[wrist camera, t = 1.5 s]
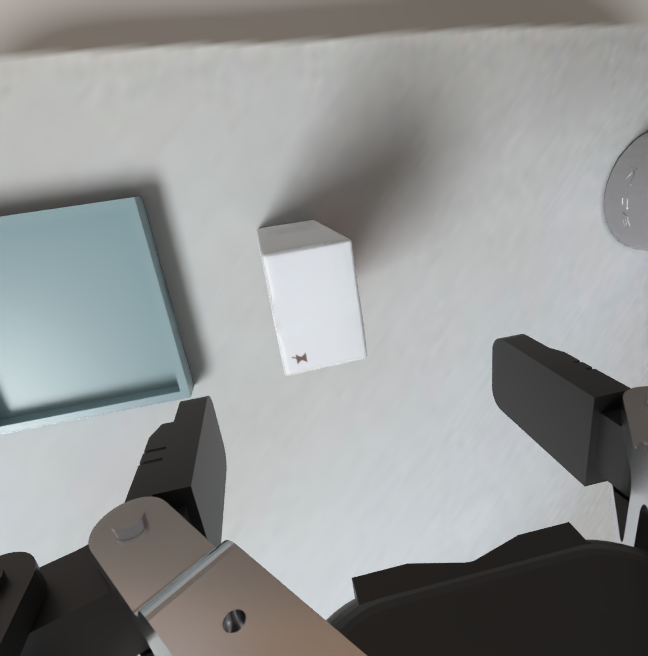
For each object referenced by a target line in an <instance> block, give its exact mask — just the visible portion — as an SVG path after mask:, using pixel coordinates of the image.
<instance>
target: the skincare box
mask: <svg viewBox="0 0 648 656" xmlns="http://www.w3.org/2000/svg"><path fill="white" fill-rule="evenodd" d="M257 237H258V243H259V248H260V254H261V259H262V264H263V269H264V274H265V279H266V284H267V289H268V294H269V299H270V304H271V309H272V315H273V321H274V325H275V330H276V335H277V340H278V345H279V350H280V355H281V360H282V364H283V368H284V372H285V374H286V375H287V376H290V375H294V374H299V373H303V372H307V371H311V370H315V369H319V368H324V367H328V366H333V365H337V364H342V363H347V362H351V361H355V360H359V359H364V358H366V357H367V350H366V342H365V332H364V324H363V316H362V310H361V304H360V298H359V292H358V284H357V277H356V269H355V262H354V255H353V248H352V241H351V240H350V239H349V238H347V237H345V236H343V235H341V234H339V233H337V232H335V231H334V230H332V229H330V228H328V227H326V226H324V225H322V224H321V223H319V222H317V221H315V220H308V221H302V222H296V223H290V224H283V225H277V226H270V227H264V228H259V229H257Z"/></svg>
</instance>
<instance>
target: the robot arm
mask: <svg viewBox="0 0 648 656" xmlns="http://www.w3.org/2000/svg"><path fill="white" fill-rule="evenodd" d="M604 213H605V218H606V223H607V225H608V227H609V229H610V231H611V233H612V234H613V235H614V237H615V238H616V239H617V240H618V241H619V242H621V243H622V244H624V245H625V246H628V247H631V248H635V249H640V250H646V251H648V132H647V133H645V134H644V135H642V136H641V137H639V138H638V139H637V140H635V141H634V142H633V143H632V144H631V145H630V146H629V147H628V148H627V149H626V150H625V152H624V153H623V154H622V155H621V157H620V158H619V159H618V161H617V163H616V165H615V167H614V168H613V170H612V172H611V175H610V178H609V180H608V183H607V186H606V192H605V197H604ZM492 391H493V396H494V399H495V401H496V404H497V405H498V407H499V408H500V409H501V410H502V411H503V412H504V413H505V414H506V415H507V416H508V417H509V418H510V419H512V420H513V421H514V422H515V423H516V424H517V425H518V426H519V427H520V428H521V429H522V430H524V431H525V432H526V433H527V434H528V435H529V436H530V437H531V438H532V439H533V440H535V441H536V442H537V443H538V444H539V445H540V446H541V447H542V448H543V449H544V450H546V451H547V452H548V453H549V454H550V455H551V456H552V457H553V458H554V459H555V460H556V461H558V462H559V463H560V464H561V465H562V466H563V467H564V468H565V469H566V470H567V471H569V472H570V473H571V474H572V475H573V476H574V477H575V478H576V479H577V480H578V481H580V482H581V483H582V484H583V485H584V486H588V485H592V484H596V483H600V482H604V481H608V482H610V483H611V488H610V505H611V513H612V521H613V528H614V536H615V542H609V541H600V540H585V539H584V538H583V537H582V535H581V534H580V533H579V532H578V531H577V530H576V529H575V528H574V527H573V526H572V525H571V524H570V523H569V522H568V523H564V524H560V525H556V526H552V527H548V528H544V529H540V530H536V531H533V532H529V533H525V534H521V535H518V536H516V537H514V538H513V539H511V540H509V541H507V542H506V543H504V544H502V545H501V546H499V547H497V548H495V549H494V550H492V551H490V552H489V553H487V554H485V555H484V556H482V557H480V558H478V559H477V560H475V561H472V562H466V563H415V564H404V565H400V566H397V567H393V568H389V569H385V570H381V571H377V572H373V573H369V574H365V575H362V576H358V577H354V578H352V582H353V588H354V595H355V599H353V600H352V601H350V602H348V603H347V604H345V605H344V606H342V607H341V608H340V609H338V610H337V611H336V612H334V613H333V614H332V615H331V616H330V617H329V618H328V619H327V620H325V619H323V618H322V617H321V616H320V615H319V614H317V613H316V612H315V611H314V610H313V609H312V608H310V607H309V606H308V605H307V604H306V603H305V602H303V601H302V600H301V599H300V598H299V597H297V596H296V595H295V594H294V593H293V592H292V591H290V590H289V589H288V588H287V587H286V586H285V585H283V584H282V583H281V582H280V581H279V580H278V579H276V578H275V577H274V576H273V575H272V574H270V573H269V572H268V571H267V570H266V569H265V568H263V567H262V566H261V565H260V564H259V563H258V562H256V561H255V560H254V559H253V558H252V557H250V556H249V555H248V554H247V553H246V552H245V551H243V550H242V549H241V548H240V547H239V546H237V545H236V544H235V543H233V542H232V541H229V540H225V541H224V542H222V543H221V535H222V522H223V509H224V495H225V482H226V455H225V449H224V444H223V441H222V437H221V433H220V429H219V425H218V422H217V418H216V414H215V410H214V406H213V403H212V400H211V398H210V396H206V397H201V398H196V399H191V400H186V401H181V402H180V404H179V407H178V410H177V413H176V417H175V420H174V422H171V423H166V424H162V425H161V426H160V427H159V428H158V429H157V430H156V431H155V432H154V433H153V434H152V435H151V436H150V438H149V440H148V443H147V445H146V448H145V450H144V453H145V454H143V456H142V458H141V461H140V466H138V469H137V471H136V474H135V477H134V479H133V482H132V485H131V487H130V490H129V492H128V495H127V498H126V500H125V503H123V504H121V505H120V506H118V507H116V508H114V509H113V510H111V511H110V512H109V513H107V514H106V515H105V516H104V517H103V518H102V519H101V520H100V521H99V522H98V523H97V524H96V526H95V527H94V529H93V530H92V532H91V534H90V537H89V542H88V543H89V544H88V545H86V546H85V547H83V548H81V549H79V550H77V551H75V552H72V553H70V554H68V555H66V556H64V557H62V558H59V559H57V560H55V561H53V562H51V563H48V564H46V565H44V566H42V567H40V568H39V566H38V564H37V562H36V560H35V559H34V557H33V556H32V555H31V554H29V553H26V552H13V553H8V554H4V555H1V556H0V656H648V386H643V387H635V388H632V389H631V388H629V387H627V386H625V385H624V384H622V383H620V382H618V381H616V380H614V379H613V378H611V377H609V376H607V375H605V374H603V373H602V372H600V371H598V370H596V369H592V367H591V366H589V365H587V364H585V363H583V362H580V361H579V360H578V359H576V358H574V357H572V356H571V355H569V354H567V353H565V352H562V351H559V350H555V349H552V348H548V347H546V346H545V345H543V344H541V343H539V342H538V341H536V340H534V339H532V338H530V337H529V336H527V335H525V334H520V335H515V336H510V337H505V338H500V339H496V340H495V342H494V344H493V355H492Z"/></svg>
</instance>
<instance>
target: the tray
mask: <svg viewBox="0 0 648 656" xmlns="http://www.w3.org/2000/svg"><path fill="white" fill-rule="evenodd" d="M193 387H194V384H193V381H192V377H191V373H190V370H189V366H188V362H187V359H186V355H185V352H184V348H183V344H182V341H181V337H180V334H179V330H178V326H177V323H176V319H175V316H174V312H173V308H172V305H171V301H170V298H169V294H168V290H167V287H166V283H165V279H164V276H163V272H162V269H161V265H160V261H159V258H158V254H157V251H156V247H155V243H154V240H153V236H152V233H151V229H150V225H149V222H148V218H147V215H146V211H145V207H144V204H143V200H142V196H138V197H131V198H124V199H117V200H110V201H104V202H97V203H90V204H83V205H76V206H69V207H62V208H56V209H49V210H42V211H35V212H28V213H21V214H14V215H8V216H1V217H0V435H1V434H6V433H11V432H16V431H22V430H27V429H32V428H37V427H42V426H47V425H52V424H57V423H62V422H67V421H72V420H77V419H82V418H87V417H93V416H98V415H103V414H108V413H113V412H118V411H123V410H128V409H133V408H138V407H143V406H148V405H153V404H159V403H164V402H169V401H174V400H179V399H184V398H189V397H191V395H192V391H193Z"/></svg>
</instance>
